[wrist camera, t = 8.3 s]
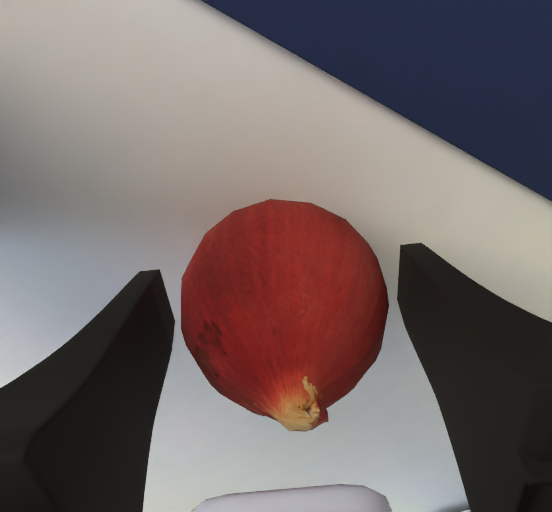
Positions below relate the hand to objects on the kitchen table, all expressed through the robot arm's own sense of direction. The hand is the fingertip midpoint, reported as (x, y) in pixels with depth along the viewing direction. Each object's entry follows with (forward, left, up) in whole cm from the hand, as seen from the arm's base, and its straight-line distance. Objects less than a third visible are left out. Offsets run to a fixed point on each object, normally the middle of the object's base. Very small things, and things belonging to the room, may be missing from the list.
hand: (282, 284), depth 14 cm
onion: (0, 0, -3) cm, 3 cm away
